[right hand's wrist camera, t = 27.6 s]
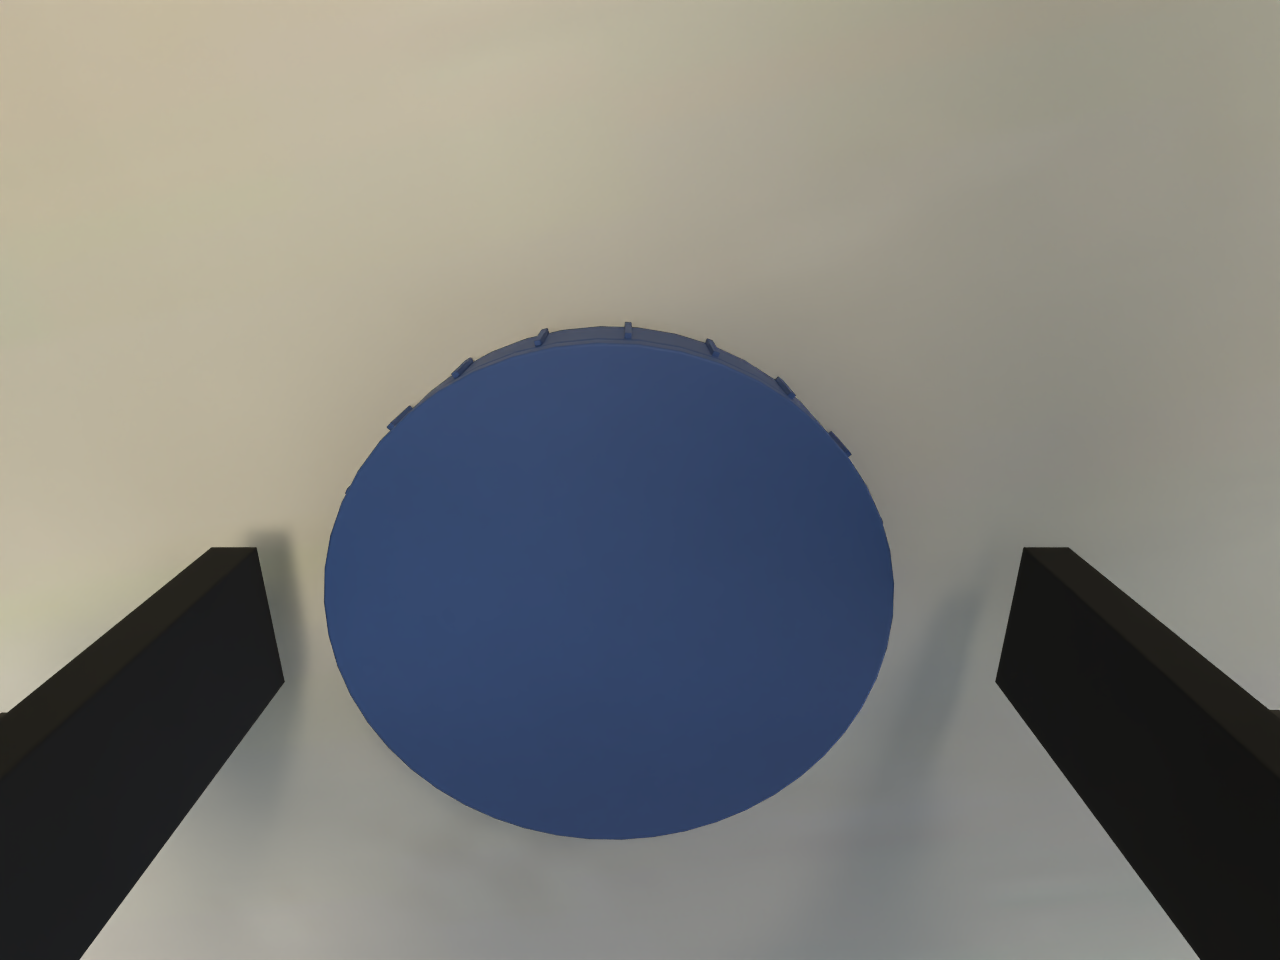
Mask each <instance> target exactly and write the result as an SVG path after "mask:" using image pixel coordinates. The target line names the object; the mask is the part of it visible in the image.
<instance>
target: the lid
mask: <svg viewBox="0 0 1280 960" xmlns="http://www.w3.org/2000/svg"><path fill="white" fill-rule="evenodd" d="M795 396H796V395H795V394H794V393H793V391H792V390H791V389H790V388H789V387H788V386H787V384H786V383H785V382H784V381H783V380H782V379H781V378H779V377H777V379H776V380H774V379H773V378H771V377H770V376H768V375H767V374H765V373H763V372H762V371H760V370H759V369H757V368H756V367H754V366H753V365H751V364H749V363H748V362H746V361H745V360H743V359H740V358H738V357H736V356H734V355H732V354H730V353H727V352H725V351H723V350H721V349H719V348H717V347H716V345H715V344H714V342H713V341H712V340H710V339H707V340H706V342H705V343H703V342H700V341H697V340H693V339H690V338H687V337H684V336H681V335H677V334H673V333H667V332H661V331H655V330H649V329H643V328H632V325H631V322H625V327H603V326H599V327H589V328H579V329H569V330H561V331H557V332H553V333H549V332H548V329H542V330H541V331H540V333H539V334H538V336H535V337H531V338H527V339H524V340H521V341H519V342H516V343H514V344H511V345H508V346H506V347H503V348H501V349H498V350H495V351H493V352H491V353H489V354H487V355H485V356H483V357H481V358H480V359H478V360H476V361H474V362H473V360H472V358H469V359H467V360H466V361H464V362H463V363H462V364H461V365H460V366H459V367H458V368H457V369H456V370H455V371H454V372H453V373H452V376H450V377H449V378H448V379H446V380H445V381H444V382H442V383H441V384H440V385H438V386H437V387H436V388H434V389H433V390H432V391H431V392H430V393H429V394H428V395H426V396H425V397H424V398H423V399H422V400H421V401H420V402H419V403H418V404H417V405H416V406H415V407H414V408H412V407H411V406H408V407H407V408H406V409H405V410H404V411H403V412H402V413H401V414H400V415H399V416H397V417H396V418H395V419H394V420H393V421H392V422H391V423H390V424H389V425H388V426H387V428H388V429H389V430H390V432H389V433H388V434H387V435H386V436H385V437H384V438H383V439H382V440H381V441H380V442H379V443H378V444H377V446H376V447H375V449H374V450H373V451H372V453H371V454H370V455H369V457H368V458H367V459H366V461H365V462H364V464H363V465H362V466H361V468H360V469H359V470H358V472H357V474H356V476H355V478H354V480H353V482H352V484H351V485H350V486H349V487H348V488H347V490H346V493H345V494H346V495H345V497H344V499H343V501H342V503H341V506H340V509H339V512H338V515H337V518H336V521H335V524H334V526H333V529H332V532H331V535H330V541H329V547H328V553H327V558H326V564H325V583H324V605H325V612H326V619H327V627H328V634H329V638H330V642H331V645H332V648H333V652H334V655H335V659H336V662H337V666H338V668H339V670H340V672H341V675H342V677H343V679H344V681H345V684H346V686H347V688H348V690H349V692H350V695H351V696H352V698H353V700H354V701H355V703H356V704H357V706H358V708H359V709H360V711H361V712H362V714H363V716H364V717H365V719H366V720H367V722H368V723H369V725H370V726H371V727H372V728H373V729H374V731H375V732H376V733H377V734H378V735H379V737H380V738H381V739H382V740H383V742H384V743H385V744H386V745H387V746H388V748H390V749H391V750H392V751H393V752H394V753H395V754H396V755H397V756H398V757H399V758H400V759H401V760H402V761H403V762H404V763H405V764H406V765H407V766H408V767H410V768H411V769H412V770H413V771H414V772H416V773H417V774H418V775H420V776H421V777H422V778H424V779H425V780H426V781H428V782H429V783H430V784H432V785H433V786H434V787H436V788H437V789H439V790H440V791H442V792H444V793H446V794H447V795H449V796H451V797H452V798H454V799H456V800H457V801H459V802H461V803H463V804H464V805H466V806H469V807H471V808H473V809H475V810H477V811H480V812H482V813H484V814H486V815H489V816H491V817H493V818H496V819H499V820H502V821H505V822H508V823H511V824H514V825H517V826H520V827H523V828H526V829H531V830H535V831H540V832H544V833H549V834H554V835H559V836H568V837H576V838H585V839H618V840H622V839H634V838H647V837H656V836H661V835H667V834H672V833H678V832H683V831H687V830H691V829H694V828H698V827H701V826H705V825H708V824H711V823H715V822H718V821H720V820H723V819H725V818H728V817H730V816H732V815H735V814H737V813H740V812H742V811H745V810H747V809H749V808H751V807H752V806H754V805H756V804H758V803H760V802H762V801H764V800H765V799H767V798H769V797H771V796H773V795H775V794H776V793H777V792H779V791H780V790H782V789H783V788H785V787H786V786H788V785H789V784H790V783H792V782H793V781H795V780H796V779H798V778H799V777H800V776H802V775H803V774H804V773H805V772H806V771H807V770H808V769H810V768H811V767H812V766H813V765H814V764H815V763H816V762H817V761H819V760H820V759H821V758H822V757H823V756H824V755H825V754H826V753H827V752H828V751H829V750H830V748H831V747H832V746H833V745H834V744H835V743H836V742H837V741H838V739H839V738H840V737H841V736H842V735H843V734H844V733H845V731H846V730H847V728H848V727H849V725H850V724H851V723H852V721H853V720H854V718H855V717H856V715H857V714H858V712H859V711H860V709H861V708H862V706H863V704H864V703H865V701H866V699H867V697H868V695H869V693H870V691H871V689H872V687H873V685H874V683H875V681H876V679H877V676H878V673H879V670H880V667H881V664H882V661H883V658H884V655H885V652H886V649H887V645H888V639H889V634H890V629H891V623H892V618H893V596H894V580H893V571H892V563H891V554H890V549H889V545H888V541H887V538H886V534H885V531H884V527H883V521H882V518H881V517H880V515H879V512H878V510H877V508H876V506H875V503H874V501H873V499H872V497H871V494H870V492H869V490H868V488H867V486H866V484H865V483H864V481H863V479H862V478H861V476H860V475H859V473H858V472H857V470H856V469H855V467H854V465H853V464H852V462H851V461H850V459H849V458H848V457H849V456H850V455H851V453H850V452H849V450H848V449H847V448H846V447H845V446H844V445H843V443H842V442H841V441H840V440H839V439H838V438H837V437H836V436H835V434H834V433H833V432H832V431H830V432H829V433H827V431H826V430H825V429H824V428H823V427H822V426H821V425H820V423H819V422H818V421H817V420H816V419H815V418H814V417H813V415H812V414H811V413H810V412H809V411H808V410H807V409H806V407H805V406H804V405H803V404H802V403H801V402H800V401H799V400H798V399H797V398H795Z"/></svg>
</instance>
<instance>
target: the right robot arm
mask: <svg viewBox="0 0 1280 960" xmlns="http://www.w3.org/2000/svg"><path fill="white" fill-rule="evenodd" d="M284 682H285V681H284V677H283V672H282V667H281V662H280V658H279V653H278V648H277V643H276V639H275V634H274V629H273V624H272V619H271V615H270V610H269V605H268V600H267V596H266V591H265V586H264V581H263V577H262V572H261V567H260V562H259V558H258V553H257V548H256V547H211V548H210V549H209V550H208V551H207V552H205V553H204V554H203V555H202V556H200V557H199V558H198V559H197V560H195V561H194V562H193V563H192V564H190V565H189V566H188V567H187V568H186V569H184V570H183V571H182V572H181V573H179V574H178V575H177V576H176V577H174V578H173V579H172V580H171V581H169V582H168V583H167V584H166V585H165V586H163V587H162V588H161V589H160V590H158V591H157V592H156V593H155V594H153V595H152V596H151V597H150V598H148V599H147V600H146V601H145V602H144V603H142V604H141V605H140V606H139V607H137V608H136V609H135V610H134V611H132V612H131V613H130V614H129V615H127V616H126V617H125V618H124V619H123V620H121V621H120V622H119V623H118V624H116V625H115V626H114V627H113V628H111V629H110V630H109V631H108V632H106V633H105V634H104V635H103V636H102V637H100V638H99V639H98V640H97V641H95V642H94V643H93V644H92V645H90V646H89V647H88V648H87V649H85V650H84V651H83V652H82V653H80V654H79V655H78V656H77V657H76V658H74V659H73V660H72V661H71V662H69V663H68V664H67V665H66V666H64V667H63V668H62V669H61V670H59V671H58V672H57V673H56V674H55V675H53V676H52V677H51V678H50V679H48V680H47V681H46V682H45V683H43V684H42V685H41V686H40V687H38V688H37V689H36V690H35V691H34V692H32V693H31V694H30V695H29V696H27V697H26V698H25V699H24V700H22V701H21V702H20V703H19V704H17V705H16V706H15V707H14V708H13V709H11V710H10V711H9V712H8V713H0V960H80V958H81V957H82V956H83V954H84V953H85V951H86V950H87V949H88V947H89V946H90V945H91V943H92V942H93V941H94V939H95V938H96V937H97V935H98V934H99V932H100V931H101V930H102V928H103V927H104V926H105V924H106V923H107V922H108V920H109V919H110V918H111V916H112V915H113V914H114V912H115V911H116V909H117V908H118V907H119V905H120V904H121V903H122V901H123V900H124V899H125V897H126V896H127V895H128V893H129V892H130V891H131V889H132V888H133V886H134V885H135V884H136V882H137V881H138V880H139V878H140V877H141V876H142V874H143V873H144V872H145V870H146V869H147V868H148V866H149V865H150V863H151V862H152V861H153V859H154V858H155V857H156V855H157V854H158V853H159V851H160V850H161V849H162V847H163V846H164V844H165V843H166V842H167V840H168V839H169V838H170V836H171V835H172V834H173V832H174V831H175V830H176V828H177V827H178V826H179V824H180V823H181V821H182V820H183V819H184V817H185V816H186V815H187V813H188V812H189V811H190V809H191V808H192V807H193V805H194V804H195V803H196V801H197V800H198V798H199V797H200V796H201V794H202V793H203V792H204V790H205V789H206V788H207V786H208V785H209V784H210V782H211V781H212V780H213V778H214V777H215V775H216V774H217V773H218V771H219V770H220V769H221V767H222V766H223V765H224V763H225V762H226V761H227V759H228V758H229V756H230V755H231V754H232V752H233V751H234V750H235V748H236V747H237V746H238V744H239V743H240V742H241V740H242V739H243V738H244V736H245V735H246V733H247V732H248V731H249V729H250V728H251V727H252V725H253V724H254V723H255V721H256V720H257V719H258V717H259V716H260V715H261V713H262V712H263V710H264V709H265V708H266V706H267V705H268V704H269V702H270V701H271V700H272V698H273V697H274V696H275V694H276V693H277V692H278V690H279V689H280V687H281V686H282V685H283V683H284ZM995 682H996V683H997V685H998V686H999V687H1000V689H1001V690H1002V692H1003V693H1004V694H1005V696H1006V697H1007V698H1008V700H1009V701H1010V702H1011V704H1012V705H1013V706H1014V708H1015V709H1016V710H1017V712H1018V713H1019V715H1020V716H1021V717H1022V719H1023V720H1024V721H1025V723H1026V724H1027V725H1028V727H1029V728H1030V729H1031V731H1032V732H1033V733H1034V735H1035V736H1036V738H1037V739H1038V740H1039V742H1040V743H1041V744H1042V746H1043V747H1044V748H1045V750H1046V751H1047V752H1048V754H1049V755H1050V756H1051V758H1052V759H1053V761H1054V762H1055V763H1056V765H1057V766H1058V767H1059V769H1060V770H1061V771H1062V773H1063V774H1064V775H1065V777H1066V778H1067V780H1068V781H1069V782H1070V784H1071V785H1072V786H1073V788H1074V789H1075V790H1076V792H1077V793H1078V794H1079V796H1080V797H1081V798H1082V800H1083V801H1084V803H1085V804H1086V805H1087V807H1088V808H1089V809H1090V811H1091V812H1092V813H1093V815H1094V816H1095V817H1096V819H1097V820H1098V821H1099V823H1100V824H1101V826H1102V827H1103V828H1104V830H1105V831H1106V832H1107V834H1108V835H1109V836H1110V838H1111V839H1112V840H1113V842H1114V843H1115V844H1116V846H1117V847H1118V849H1119V850H1120V851H1121V853H1122V854H1123V855H1124V857H1125V858H1126V859H1127V861H1128V862H1129V863H1130V865H1131V866H1132V868H1133V869H1134V870H1135V872H1136V873H1137V874H1138V876H1139V877H1140V878H1141V880H1142V881H1143V882H1144V884H1145V885H1146V886H1147V888H1148V889H1149V891H1150V892H1151V893H1152V895H1153V896H1154V897H1155V899H1156V900H1157V901H1158V903H1159V904H1160V905H1161V907H1162V908H1163V909H1164V911H1165V912H1166V914H1167V915H1168V916H1169V918H1170V919H1171V920H1172V922H1173V923H1174V924H1175V926H1176V927H1177V928H1178V930H1179V931H1180V932H1181V934H1182V935H1183V937H1184V938H1185V939H1186V941H1187V942H1188V943H1189V945H1190V946H1191V947H1192V949H1193V950H1194V951H1195V953H1196V954H1197V956H1198V957H1199V958H1200V960H1280V710H1269V709H1267V708H1266V707H1265V706H1264V705H1263V704H1261V703H1260V702H1259V701H1258V700H1256V699H1255V698H1254V697H1253V696H1251V695H1250V694H1249V693H1248V692H1246V691H1245V690H1244V689H1243V688H1242V687H1240V686H1239V685H1238V684H1237V683H1235V682H1234V681H1233V680H1232V679H1230V678H1229V677H1228V676H1227V675H1225V674H1224V673H1223V672H1222V671H1221V670H1219V669H1218V668H1217V667H1216V666H1214V665H1213V664H1212V663H1211V662H1209V661H1208V660H1207V659H1206V658H1204V657H1203V656H1202V655H1201V654H1200V653H1198V652H1197V651H1196V650H1195V649H1193V648H1192V647H1191V646H1190V645H1188V644H1187V643H1186V642H1185V641H1183V640H1182V639H1181V638H1180V637H1178V636H1177V635H1176V634H1175V633H1174V632H1172V631H1171V630H1170V629H1169V628H1167V627H1166V626H1165V625H1164V624H1162V623H1161V622H1160V621H1159V620H1157V619H1156V618H1155V617H1154V616H1153V615H1151V614H1150V613H1149V612H1148V611H1146V610H1145V609H1144V608H1143V607H1141V606H1140V605H1139V604H1138V603H1136V602H1135V601H1134V600H1133V599H1132V598H1130V597H1129V596H1128V595H1127V594H1125V593H1124V592H1123V591H1122V590H1120V589H1119V588H1118V587H1117V586H1115V585H1114V584H1113V583H1112V582H1111V581H1109V580H1108V579H1107V578H1106V577H1104V576H1103V575H1102V574H1101V573H1099V572H1098V571H1097V570H1096V569H1094V568H1093V567H1092V566H1091V565H1090V564H1088V563H1087V562H1086V561H1085V560H1083V559H1082V558H1081V557H1080V556H1078V555H1077V554H1076V553H1075V552H1073V551H1072V550H1071V549H1070V548H1069V547H1024V548H1023V553H1022V558H1021V562H1020V567H1019V572H1018V577H1017V581H1016V586H1015V591H1014V596H1013V600H1012V605H1011V610H1010V615H1009V619H1008V624H1007V629H1006V634H1005V639H1004V643H1003V648H1002V653H1001V658H1000V662H999V667H998V672H997V677H996V681H995Z"/></svg>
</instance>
